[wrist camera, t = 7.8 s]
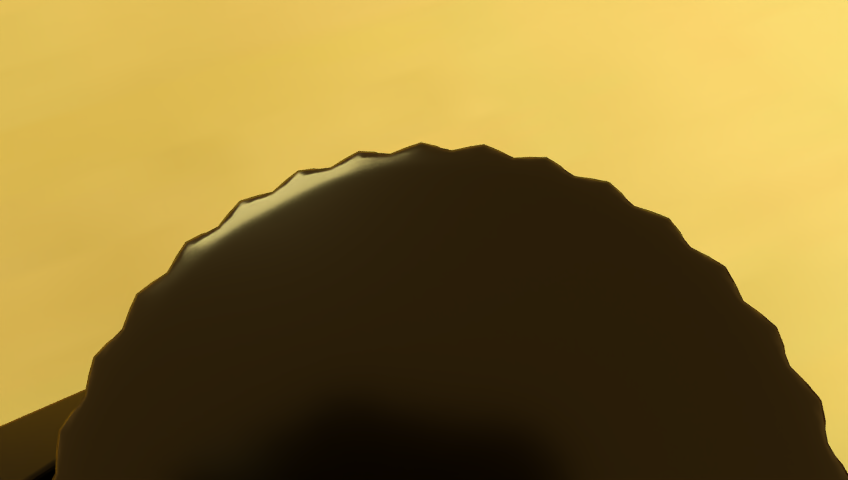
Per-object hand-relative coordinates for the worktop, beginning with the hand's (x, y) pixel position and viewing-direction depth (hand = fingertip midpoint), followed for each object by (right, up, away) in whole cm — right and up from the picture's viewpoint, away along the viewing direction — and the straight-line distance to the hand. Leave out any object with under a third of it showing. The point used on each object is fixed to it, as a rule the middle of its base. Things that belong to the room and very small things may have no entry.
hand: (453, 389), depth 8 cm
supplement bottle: (0, -3, +6) cm, 7 cm away
